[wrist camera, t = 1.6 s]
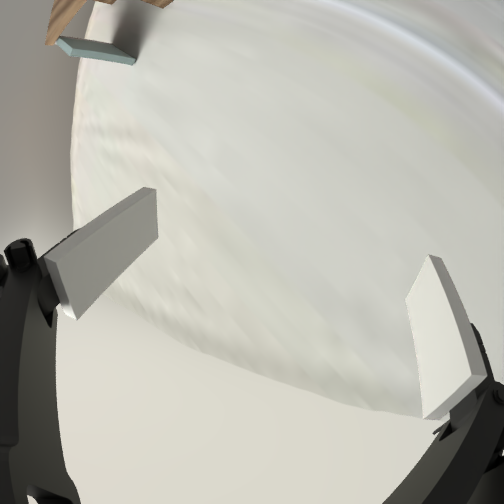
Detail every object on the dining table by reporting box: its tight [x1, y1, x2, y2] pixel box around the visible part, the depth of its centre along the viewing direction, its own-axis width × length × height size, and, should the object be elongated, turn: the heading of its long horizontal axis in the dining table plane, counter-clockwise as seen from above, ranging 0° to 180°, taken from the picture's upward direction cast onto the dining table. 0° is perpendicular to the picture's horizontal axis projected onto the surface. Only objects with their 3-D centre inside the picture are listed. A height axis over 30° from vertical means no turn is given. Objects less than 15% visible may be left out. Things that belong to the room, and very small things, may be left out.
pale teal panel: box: [55, 36, 136, 65], centre depth 39 cm, size 2×15×15 cm, turn 52°
